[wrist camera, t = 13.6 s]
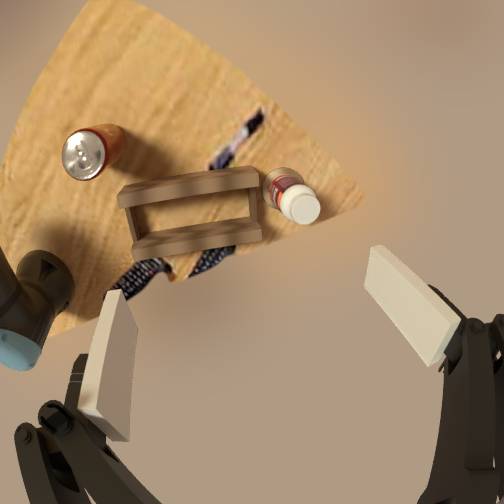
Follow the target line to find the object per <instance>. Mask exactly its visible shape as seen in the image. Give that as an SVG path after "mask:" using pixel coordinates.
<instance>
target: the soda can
mask: <svg viewBox="0 0 504 504" xmlns="http://www.w3.org/2000/svg"><path fill="white" fill-rule="evenodd" d="M125 148H126V138H125V135H124V133H123V131H122V130H121V129H120V128H119V127H118V126H116V125H113V124H102V125H97V126H92V127H88V128H84V129H79V130H77V131H75V132H74V133H72V134H71V135H70V136H69V137H68V139H67V140H66V142H65V144H64V146H63V150H62V163H63V166H64V168H65V170H66V172H67V173H68V174H69V175H70V176H71V177H72V178H74V179H76V180H80V181H88V180H92V179H94V178H96V177H97V176H99V175H100V174H101V173H102V172H104V171H105V170H106V169H107V168H109V167H110V166H111V165H113V164H114V163H115V162H117V161H118V160H119V159H120V158H121V157H122V155H123V153H124V151H125Z"/></svg>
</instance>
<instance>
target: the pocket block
mask: <svg viewBox="0 0 504 504" xmlns="http://www.w3.org/2000/svg"><path fill="white" fill-rule="evenodd" d="M258 186H259V173H258V172H257V171H256V170H255V169H254V168H253V167H252V166H242V167H233V168H225V169H218V170H210V171H203V172H197V173H190V174H184V175H178V176H172V177H166V178H161V179H156V180H150V181H145V182H140V183H135V184H130V185H126V186H124V187H123V188H122V190H121V191H120V192H119V193H118V195H117V201H118V205H119V209H122V208H125V211H126V215H127V219H128V223H129V227H130V231H131V235H132V238H133V245H132V248H131V253H132V256H133V260H134V261H140V260H146V259H152V258H158V257H164V256H170V255H176V254H182V253H188V252H194V251H200V250H206V249H213V248H219V247H225V246H231V245H238V244H244V243H250V242H257V241H262V229H261V227H260V225H259V223H258V219H257V202H256V187H258ZM242 188H248V197H249V211H250V217H244V218H237V219H230V220H223V221H217V222H210V223H204V224H198V225H191V226H185V227H179V228H173V229H167V230H162V231H156V232H150V233H145V234H140V232H139V228H138V224H137V220H136V216H135V211H134V207H133V206H137V205H142V204H147V203H152V202H158V201H163V200H169V199H175V198H181V197H187V196H193V195H199V194H206V193H213V192H220V191H227V190H234V189H242Z"/></svg>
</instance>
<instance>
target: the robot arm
mask: <svg viewBox="0 0 504 504" xmlns="http://www.w3.org/2000/svg"><path fill="white" fill-rule="evenodd" d="M364 288H365V289H366V290H367V291H368V292H369V294H370V295H371V296H372V297H373V298H374V299H375V301H376V302H377V303H378V304H379V305H380V307H381V308H382V309H383V310H384V312H385V313H386V314H387V315H388V316H389V318H390V319H391V320H392V321H393V322H394V324H395V325H396V326H397V328H399V330H400V331H401V333H402V334H403V335H404V336H405V338H406V339H407V340H408V341H409V343H410V344H411V345H412V347H413V348H414V349H415V351H416V352H417V353H418V354H419V356H420V357H421V358H422V360H423V361H424V362H425V364H426V365H427V366H430V365H432V364H434V363H436V362H438V361H439V359H440V358H441V356H442V354H443V353H444V354H445V355H446V358H445V360H444V361H443V363H442V365H441V366H440V368H439V372H440V371H441V370H442V368H443V367H444V371H443V373H444V386H443V400H442V410H441V420H440V426H439V434H438V440H437V446H436V451H435V456H434V461H433V466H432V470H431V474H430V479H429V482H428V485H427V488H426V490H425V491H424V492H423V494H422V495H421V496H420V498H419V500H418V502H417V504H496V500H497V495H498V497H499V500H500V502H498V503H497V504H504V314H497V315H496V316H495V318H494V319H493V321H492V322H491V323H485V324H484V323H483V322H482V321H481V320H479V319H476V318H469V319H467V318H466V317H465V316H464V315H463V314H462V313H461V312H460V311H459V309H457V307H455V305H454V304H453V303H451V302H449V300H448V299H447V298H446V297H444V295H443V294H442V293H441V292H440V291H439V290H438V289H437V288H435V287H433V286H431V285H427V284H425V283H424V282H423V281H422V280H421V279H420V278H419V277H418V276H417V275H416V274H415V273H414V272H413V271H411V270H410V269H409V268H408V267H407V266H406V265H405V264H404V263H403V262H401V261H400V260H399V259H398V258H397V257H396V256H394V255H393V254H392V253H391V252H390V251H389V250H388V249H386V248H385V247H384V246H383V245H377V246H372V247H371V250H370V256H369V263H368V268H367V273H366V279H365V284H364ZM73 295H74V282H73V278H72V276H71V274H70V272H69V270H68V269H67V267H66V266H65V265H64V263H63V262H62V261H61V260H59V259H58V258H57V257H56V256H54V255H52V254H51V253H48V252H46V251H41V250H34V251H31V252H29V253H27V254H26V255H25V256H24V257H23V258H22V260H21V261H20V263H19V264H18V267H17V271H16V275H15V274H14V272H13V270H12V268H11V266H10V265H9V263H8V261H7V259H6V257H5V255H4V253H3V251H2V249H1V247H0V363H1V364H3V365H5V366H7V367H9V368H11V369H14V370H18V371H27V370H30V369H32V368H33V367H34V366H35V364H36V362H37V360H38V358H39V356H40V355H41V352H42V348H43V345H44V343H45V340H46V338H47V335H48V333H49V330H50V328H51V326H52V323H53V321H54V319H55V318H56V317H57V316H58V315H59V314H60V313H61V312H63V311H64V310H65V309H66V308H67V307H68V306H69V304H70V302H71V300H72V298H73ZM137 333H138V328H137V326H136V324H135V321H134V319H133V317H132V314H131V312H130V310H129V308H128V305H127V302H126V300H125V297H124V295H123V292H122V290H121V289H118V290H111V291H107V294H106V297H105V300H104V303H103V306H102V310H101V313H100V316H99V319H98V323H97V326H96V330H95V334H94V337H93V341H92V344H91V348H90V352H89V354H80V355H79V357H78V358H77V359H76V361H75V362H74V365H73V369H72V372H71V373H72V375H71V376H70V383H69V385H68V389H67V393H66V398H65V403H64V405H63V404H62V403H61V402H59V401H57V400H50V401H48V402H46V403H45V404H44V405H43V406H42V407H41V408H40V410H39V413H38V421H39V424H40V425H41V426H42V427H40V428H35V427H34V426H33V425H32V424H30V423H27V422H26V423H22V424H21V425H19V426H18V427H17V429H16V431H15V434H14V440H15V446H16V451H17V456H18V461H19V466H20V470H21V474H22V477H23V482H24V485H25V489H26V492H27V495H28V498H29V501H30V504H91V502H90V500H89V498H88V495H87V493H86V491H85V489H86V490H87V492H88V493H89V494H90V496H91V497H92V498H93V500H94V501H95V502H96V504H161V503H160V502H159V501H158V500H157V499H156V498H155V497H154V496H153V495H152V494H151V493H150V492H149V491H148V490H147V489H146V488H145V487H144V486H143V485H142V484H141V483H140V482H139V481H138V480H137V479H136V477H135V476H133V474H132V473H131V472H130V471H129V470H128V469H127V468H126V466H125V465H124V464H123V463H122V462H121V461H120V459H119V458H118V457H117V456H116V455H115V453H114V452H113V451H112V450H111V448H110V447H109V446H108V445H107V444H106V436H107V437H108V438H109V439H111V440H112V441H123V442H129V431H130V407H131V390H132V379H133V368H134V358H135V349H136V341H137ZM499 351H500V352H501V356H500V358H499V359H497V357H496V355H497V354H498V352H499ZM493 458H494V461H495V468H494V467H493ZM84 488H85V489H84Z"/></svg>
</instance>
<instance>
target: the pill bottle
mask: <svg viewBox="0 0 504 504" xmlns="http://www.w3.org/2000/svg"><path fill="white" fill-rule="evenodd" d="M268 195H269V198H270V199H271V201H272V202H273V203H274V204H275V206H276V207H277V208H278V209H279V210H280V211H281V213H282V214H283V215H284V216H285V217H286V218H287V219H289V220H291V221H295V222H297V223H299V224H303V225H306V224H310V223H312V222H313V221H315V220H316V219H317V217H318V216H319V213H320V203H319V201H318V200H317V198H316V195H315V193H314V192H313V190H312V189H311V188H309V187H308V186H307V185H305V184H304V183H302V182H301V181H300V180H298V179H297V178H296V177H294V176H292V175H290V174H281V175H278V176H276V177H275V178H274V179H273V180H272V181H271V182H270V184H269V187H268Z"/></svg>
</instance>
